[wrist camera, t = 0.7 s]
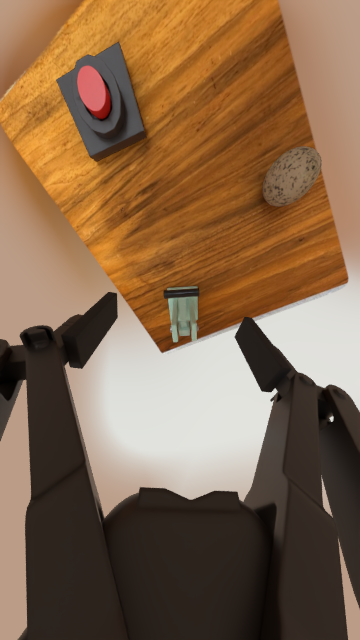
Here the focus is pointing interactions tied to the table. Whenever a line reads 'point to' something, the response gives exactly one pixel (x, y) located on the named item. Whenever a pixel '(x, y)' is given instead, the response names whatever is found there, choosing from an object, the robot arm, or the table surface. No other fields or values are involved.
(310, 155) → the decorative egg
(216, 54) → the table surface
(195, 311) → the bracket
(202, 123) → the table surface
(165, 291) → the lever
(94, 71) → the button
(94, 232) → the table surface
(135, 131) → the control block
